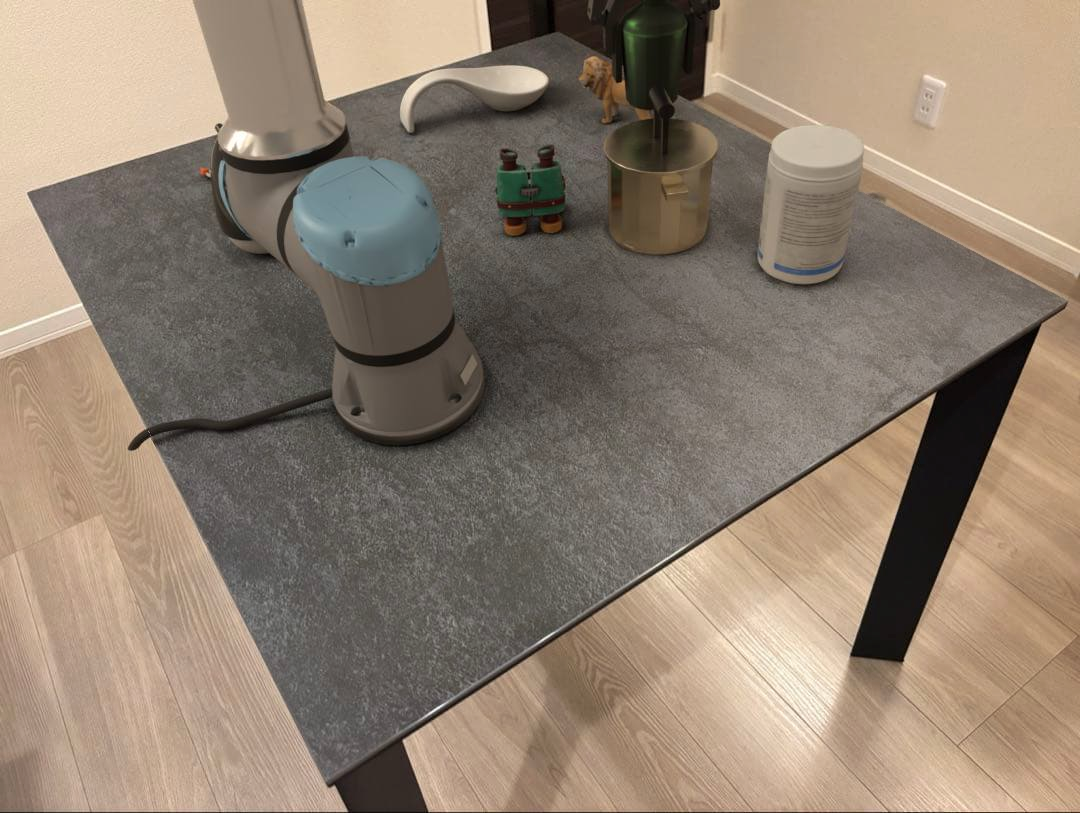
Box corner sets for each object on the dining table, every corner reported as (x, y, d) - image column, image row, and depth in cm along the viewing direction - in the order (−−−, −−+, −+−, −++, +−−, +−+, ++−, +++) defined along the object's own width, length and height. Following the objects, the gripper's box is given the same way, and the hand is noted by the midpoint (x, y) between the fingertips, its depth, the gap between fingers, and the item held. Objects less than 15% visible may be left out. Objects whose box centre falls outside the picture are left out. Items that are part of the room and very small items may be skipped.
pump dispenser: (289, 211, 112) (254, 102, 101) (323, 243, 105) (289, 131, 95) (218, 239, 108) (173, 130, 97) (248, 275, 102) (204, 162, 91)
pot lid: (615, 189, 91) (614, 128, 86) (595, 134, 100) (593, 76, 95) (730, 174, 91) (737, 112, 86) (700, 121, 101) (704, 63, 96)
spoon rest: (531, 80, 136) (528, 35, 131) (562, 107, 128) (559, 61, 123) (394, 116, 130) (385, 70, 125) (417, 147, 122) (408, 100, 117)
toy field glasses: (561, 122, 103) (565, 153, 96) (565, 201, 110) (569, 235, 102) (490, 128, 104) (488, 159, 96) (498, 206, 110) (497, 241, 102)
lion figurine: (575, 121, 124) (572, 61, 118) (594, 107, 127) (592, 48, 121) (661, 142, 118) (663, 80, 112) (679, 126, 121) (682, 65, 114)
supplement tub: (859, 266, 94) (888, 147, 84) (799, 299, 91) (822, 178, 80) (796, 230, 100) (816, 114, 90) (737, 259, 97) (751, 142, 86)
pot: (623, 273, 96) (623, 193, 89) (597, 197, 109) (596, 121, 101) (724, 260, 97) (732, 179, 89) (687, 185, 109) (692, 109, 102)
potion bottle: (624, 117, 103) (624, -41, 90) (615, 89, 109) (614, -63, 96) (689, 110, 103) (698, -48, 90) (677, 82, 109) (684, -70, 96)
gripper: (563, -119, 84) (573, 97, 100) (764, -142, 85) (742, 76, 101) (554, -136, 90) (564, 72, 106) (743, -157, 91) (725, 52, 107)
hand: (651, 73), depth 103 cm, fingers closed on potion bottle, 8 cm apart
